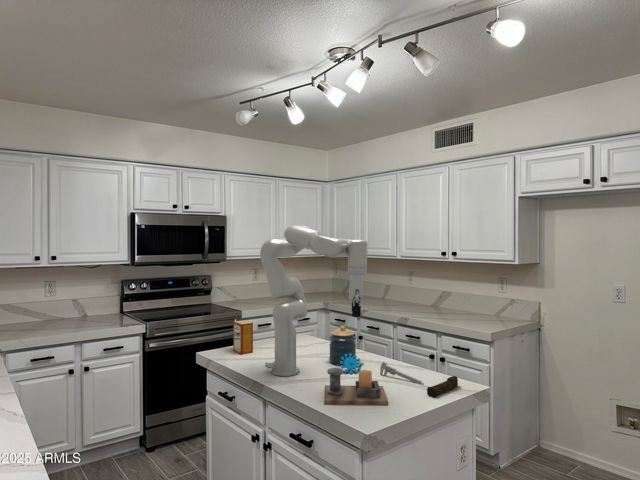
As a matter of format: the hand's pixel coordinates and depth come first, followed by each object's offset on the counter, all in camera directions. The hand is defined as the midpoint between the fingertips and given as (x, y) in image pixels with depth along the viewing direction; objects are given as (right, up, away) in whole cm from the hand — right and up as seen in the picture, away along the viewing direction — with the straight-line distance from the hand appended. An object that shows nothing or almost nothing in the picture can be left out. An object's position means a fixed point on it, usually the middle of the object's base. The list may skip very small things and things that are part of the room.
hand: (355, 314), depth 174 cm
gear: (0, -30, +24) cm, 39 cm away
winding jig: (-1, -30, -7) cm, 31 cm away
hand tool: (+35, -31, 0) cm, 46 cm away
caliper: (+21, -31, +13) cm, 39 cm away
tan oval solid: (+3, -29, -7) cm, 30 cm away
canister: (-3, -30, +39) cm, 49 cm away
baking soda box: (-55, -30, +57) cm, 85 cm away
